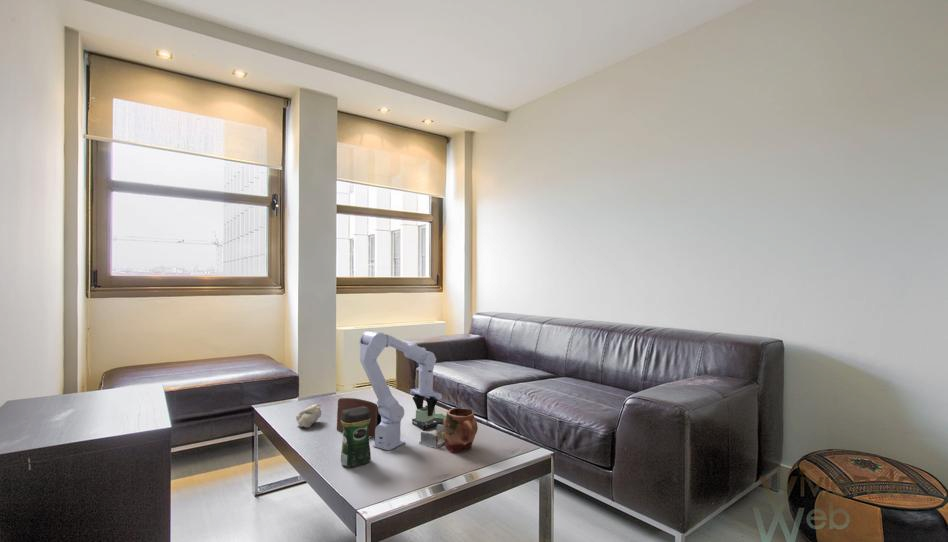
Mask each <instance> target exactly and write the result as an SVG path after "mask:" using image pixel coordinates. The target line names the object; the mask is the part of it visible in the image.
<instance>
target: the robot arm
mask: <svg viewBox="0 0 948 542" xmlns="http://www.w3.org/2000/svg"><path fill="white" fill-rule="evenodd" d="M358 344H359V346H360V347H359V349H360V350H359V351H360V352H359V361H360V364H361V366H362V368H363V370H364V372H365V374H366V376H367V379H368V381H369V383H370V385H371V387H372V389H373V391H374V394H375V395H376V398H377V401H376V404H377V406H378V412H379V414H380V415H381V423H380V424H379V425H378V426H377V427H376V429H375V438H374V444H373V445H372V447H375V448H378V449H383V450H386V451H391V450H393V449H395V448H397V447H399V446H401V445H402V444H405V443H406V441H405V440H403V439H401V422H402V419H403V418H404V417H405V409H404V406H402V405H400V403H399V401H398V400H397V399H396V398H395V397H394V396H393V394H392V392H391V390H390V388H389V385H388V383H387V380H386V378H385V376H384V375H383V372H382V370H381V367H380V365H379V362H378V361H377V360H378V357H379V356H380V355H381V353H382V352H383V351H384V349H385V348H389V347H391V348H393V349H396V350H398V351H400V352H403V356H404V357H405V358H407V359H410V360H411V361H414V362H416V363H417V364H418V388H411V389H410V390H409V395H412V400H413V402H414V404H415V406H416V407H415V408H416V410H418V409H420V408H423V407H424V400H425V401H426V404H427V406H428V416H432V415H433V411H434V408H435V409H436V405H437V403H438V402H439V400H442V397H443V396H442V395H443V394H442V393H440V392H437V391H435V390H434V387H433V386H434V385H433V384H434V366H435V364H436V362H437V358H436V355H435V353H434V352H432V351H428V350H427V348H426V347H421V346H418V343H416V342H413V343H412V342H411V343H410V342H409V343H405V342H403V341H402V340H400V339H398V338H397V337H394V336H392V335H389V334H386V333H383V332H377V331H374V330H370V329H369V330H365V331H364V332H363V333H362V335H361V337H360V339H359V342H358ZM425 398H427V399H425Z"/></svg>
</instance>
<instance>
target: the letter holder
mask: <svg viewBox="0 0 948 542" xmlns="http://www.w3.org/2000/svg"><path fill="white" fill-rule="evenodd" d="M362 406H365V407H367V408H368V409H369V411H370V418H371V420H370V423H369V436H371V437H370V438H374V437H375V429H376V427H377V426H378V425H379V424H380V423H381V415H380V414H379V412H378V404H377V403H375V402H372V401H369V400H366V399H359V398H356V397H355V398H353V397H352V398H351V397H341V398H338V400H337V413H336V431H337V430H340V431H339V432H343V426H342V423H341V417H342V411H343V410H346V409H352V408H357V407H362Z"/></svg>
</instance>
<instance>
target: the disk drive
mask: <svg viewBox="0 0 948 542" xmlns="http://www.w3.org/2000/svg"><path fill="white" fill-rule="evenodd" d="M445 417H446V415H444V414H443V413H435V418H433V419H431V420H429V421H426V422H421V421H417V420H416V417H415V418H412V422H411V424H412V425H413V426H415V427H416V428H418V429H419V430H421V431H422V432H425V431H428V430H432V429H433V428H434V429H437V425H438V424H441V425H443V420H444V418H445Z"/></svg>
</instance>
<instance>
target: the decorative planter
mask: <svg viewBox="0 0 948 542" xmlns="http://www.w3.org/2000/svg"><path fill="white" fill-rule="evenodd" d="M445 416H446V417H445V418H444V420H443V426H444V431H445V433H446V435H445V444H444V447H445V449H446V450H447V451H448V452H450V453H453V454H454V453H455V454H457V453H458V454H459V453H464V452H467V451H469V450H471V449H472V446H473V443H474V440H475V437H476V434H477V433H478V429H479V426H478V422H477V420H476V418H475V412H474V411H473V410H472V409H470V408H462V407H461V408H460V407H453V408H452V407H451V408H450V409H448V410H447V411H446V415H445Z"/></svg>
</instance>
